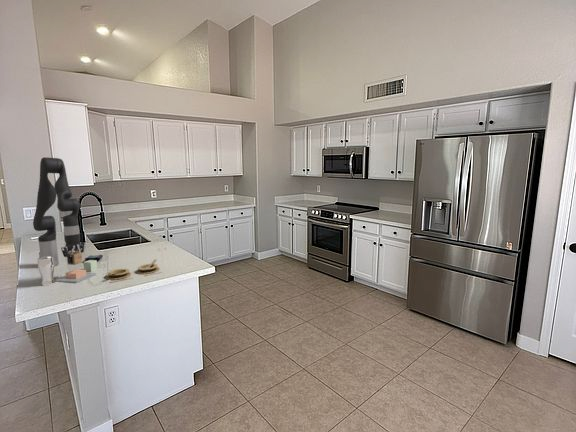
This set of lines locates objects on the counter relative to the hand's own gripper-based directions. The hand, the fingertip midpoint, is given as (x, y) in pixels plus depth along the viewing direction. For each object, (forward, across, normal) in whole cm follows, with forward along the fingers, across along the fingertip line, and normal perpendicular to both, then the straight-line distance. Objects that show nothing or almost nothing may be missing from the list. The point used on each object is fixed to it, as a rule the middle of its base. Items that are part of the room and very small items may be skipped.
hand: (74, 261), depth 181 cm
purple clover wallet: (+11, -30, -16) cm, 35 cm away
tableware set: (+11, -14, +28) cm, 33 cm away
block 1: (+1, 0, 0) cm, 1 cm away
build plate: (+10, 0, 0) cm, 10 cm away
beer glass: (+10, +11, -8) cm, 17 cm away
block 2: (+10, -14, -3) cm, 17 cm away
